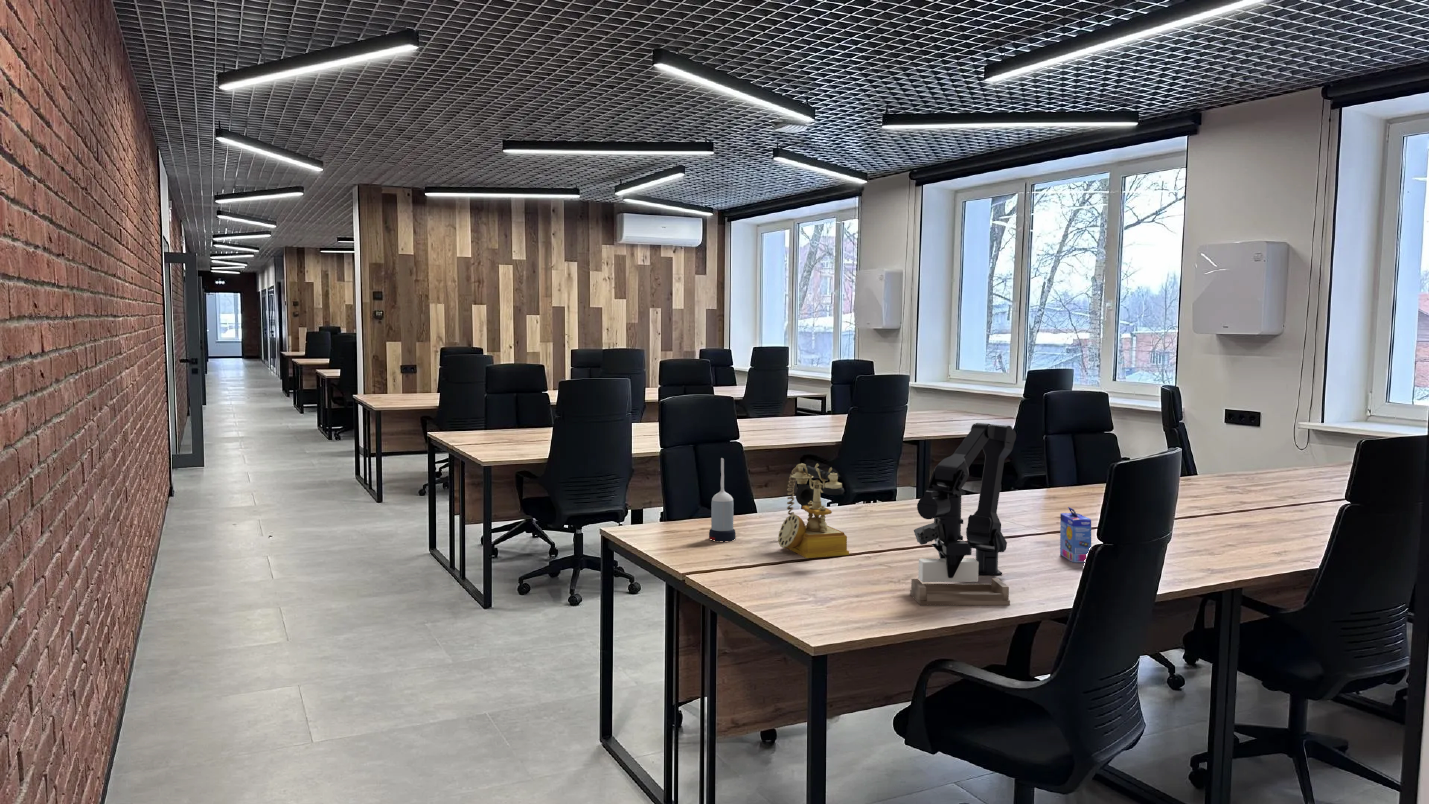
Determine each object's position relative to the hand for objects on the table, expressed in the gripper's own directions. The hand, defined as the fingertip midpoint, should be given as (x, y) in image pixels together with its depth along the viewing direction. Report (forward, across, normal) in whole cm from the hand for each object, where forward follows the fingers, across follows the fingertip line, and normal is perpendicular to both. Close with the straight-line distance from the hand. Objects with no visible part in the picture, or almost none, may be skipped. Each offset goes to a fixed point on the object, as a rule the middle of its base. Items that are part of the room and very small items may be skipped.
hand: (948, 575), depth 243 cm
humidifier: (+3, -56, -54) cm, 78 cm away
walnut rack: (+2, +13, -1) cm, 13 cm away
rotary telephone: (+3, -43, -31) cm, 53 cm away
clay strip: (+1, 0, 0) cm, 1 cm away
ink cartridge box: (+3, -28, +44) cm, 52 cm away
